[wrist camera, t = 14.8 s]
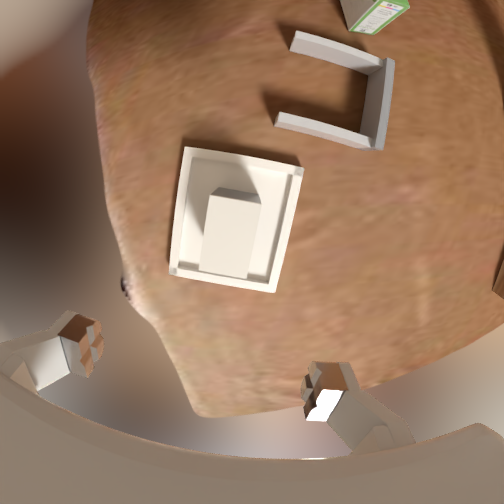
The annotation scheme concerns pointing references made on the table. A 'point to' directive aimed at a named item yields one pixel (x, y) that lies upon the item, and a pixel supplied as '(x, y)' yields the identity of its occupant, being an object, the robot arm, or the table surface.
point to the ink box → (371, 14)
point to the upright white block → (230, 232)
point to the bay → (374, 101)
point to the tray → (242, 179)
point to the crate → (500, 282)
